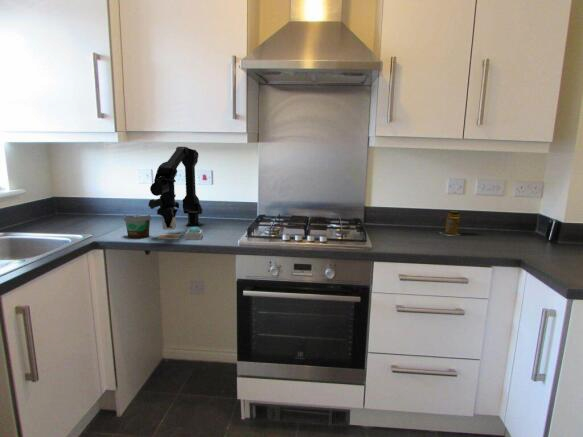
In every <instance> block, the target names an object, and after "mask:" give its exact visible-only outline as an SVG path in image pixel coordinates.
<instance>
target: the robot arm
mask: <svg viewBox="0 0 583 437" xmlns="http://www.w3.org/2000/svg"><path fill="white" fill-rule="evenodd" d="M198 160H199V152H198V151H197V150H196V149H192V148H189V147H188V146H177V147H176V148H175V151H174V152H173V153H172V155H171V156H170V157H169V159H168V160H167V161H164V162H162V163H161V164H160V165H159V166H158V168H157V170H156V173H155V177H154V182H153V183H152V184H151V185H150V188H149V191H150V193H151V194H152V195H153V196H155V197H159V198H157V199H155V198H153V199H152V198H151V199H150V200H149V202H148V204H147V205H148V207H149V208H150V209H151V210H153V209H155V208H157V207H159V208H158V209H157V210H156V213H157V215H159V216H161V217H162V218H164V220H165V223H166V226H167V228H169V227H170V224H171V221H172V218H173V217H176V216H177V212H178V209H179V208H180V203H179V202H178V201H176V199H175V198H176V194H175V183H176V182H177V181H176V179H175V178H176V176H177V174H178V169H177V168H178V167H179V166H180V164H181V163H182V164H183V166H184V171H185V173H184V174H185V196H184V198H182V211H183V214H185V215H187V223H186V226H188V227H189V226H190V227H199V226H200V225H201V222H200V217H199V216H200V215H202V214H203V211H204V210H203V207H202V205H201V204H200V199H199V197H198V196H197V192H196V168H195V167H196V165H197V163H198Z"/></svg>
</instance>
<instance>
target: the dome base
mask: <svg viewBox="0 0 583 437" xmlns="http://www.w3.org/2000/svg"><path fill="white" fill-rule="evenodd" d="M185 234H186V236H185V238H186V240H201V239H202V238H203V229H199V233H189V229H187V231H186V233H185Z"/></svg>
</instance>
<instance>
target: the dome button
mask: <svg viewBox="0 0 583 437" xmlns="http://www.w3.org/2000/svg"><path fill="white" fill-rule="evenodd" d="M188 230H189V233H199V230H200V227H199V226H190V227H189V228H188Z"/></svg>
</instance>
